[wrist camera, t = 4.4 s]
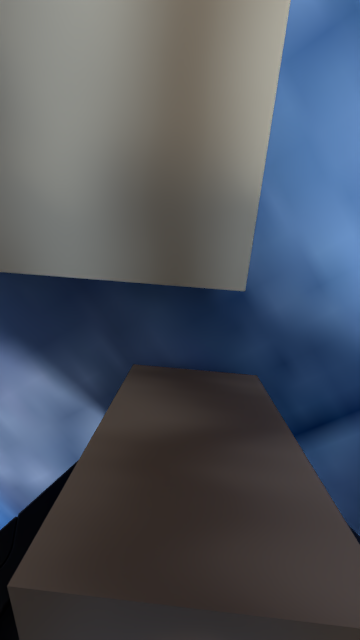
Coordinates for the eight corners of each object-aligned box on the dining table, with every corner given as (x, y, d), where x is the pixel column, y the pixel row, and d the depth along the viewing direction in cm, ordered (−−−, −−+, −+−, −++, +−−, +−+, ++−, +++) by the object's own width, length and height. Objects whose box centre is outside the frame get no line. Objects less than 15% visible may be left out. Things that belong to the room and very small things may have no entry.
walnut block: (256, 375, 8) (413, 634, 2) (238, 471, 10) (312, 788, 4) (133, 364, 8) (7, 585, 3) (131, 460, 10) (45, 751, 4)
